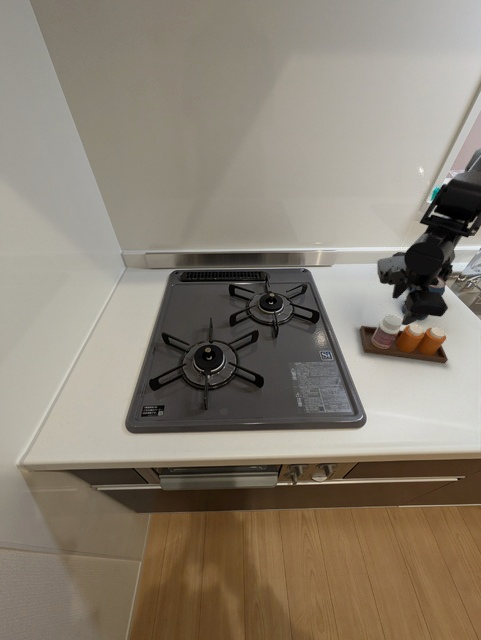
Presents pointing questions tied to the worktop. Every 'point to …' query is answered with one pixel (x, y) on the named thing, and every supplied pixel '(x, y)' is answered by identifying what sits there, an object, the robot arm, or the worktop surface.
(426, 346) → the amber bottle back
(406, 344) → the amber bottle middle
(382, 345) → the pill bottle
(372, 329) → the tray
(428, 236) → the robot arm
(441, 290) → the soda can
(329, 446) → the worktop surface
